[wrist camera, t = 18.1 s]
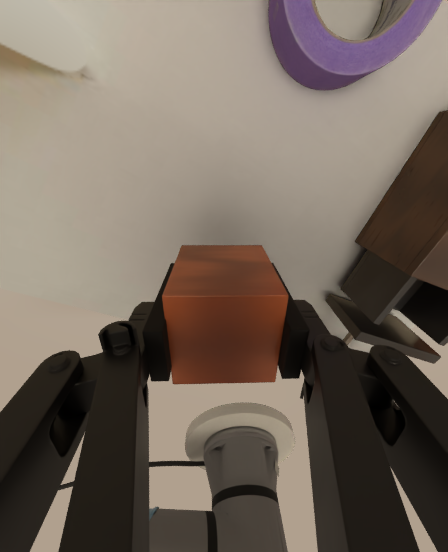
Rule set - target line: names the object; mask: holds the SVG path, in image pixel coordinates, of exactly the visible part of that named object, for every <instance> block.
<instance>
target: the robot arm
mask: <svg viewBox="0 0 448 552" xmlns="http://www.w3.org/2000/svg"><path fill="white" fill-rule="evenodd" d="M174 264H175V263H171V264H170V267H169V269H168V272H167V274H166V276H165V279H164V281H163V284H162V286H161V288H160V291H159V293H158V295H157V298H156V300H155V302H141V303H140V304H139V305H138V306H136V307H135V309H134V311H133V313H132V315H131V316H130V318H129V321H118V322H114V323H111V324H109V325H107V326H105V327H104V328H103V329H102V330H101V331H100V333H99V334H98V335H99V339H100V342H101V346H102V349H103V352H102V353H99V354H96V355H93V356H88V357H84V358H80V355H79V353H77V352H76V351H70V350H69V351H62V352H59V353H57V354H54V355H52V356H50V357H49V358H47V359H46V360H44V362H42V363H41V364H40V365H39V367H38V368H37V369H36V370H35V371H34V373H33V374H32V375H31V376H30V377H29V379H28V380H27V381H26V382H25V383H24V385H23V386H22V387H21V388H20V389H19V391H18V392H17V393H16V394H15V395H14V397H13V398H12V399H11V400H10V401H9V403H8V404H7V405H6V406H5V407H4V409H3V410H2V411H1V412H0V552H30V549H31V547H32V545H33V543H34V541H35V538H36V537H37V534H38V532H39V530H40V528H41V526H42V524H43V521H44V519H45V517H46V515H47V513H48V511H49V508H50V506H51V504H52V502H53V500H54V497H55V495H56V493H57V491H58V490H61V489H65V488H68V487H72V486H73V489H72V494H71V498H70V503H69V507H68V512H67V516H66V521H65V525H64V529H63V534H62V538H61V543H60V548H59V552H288V551H287V546H286V540H285V535H284V530H283V524H282V519H281V514H280V509H279V504H278V498H277V492H276V484H277V475H278V476H279V467H278V455H279V452H278V448H277V443H276V440H275V438H274V436H273V435H272V434H271V433H269V432H268V431H266V430H264V429H261V428H257V427H252V426H235V427H229V428H225V429H223V430H220V431H218V432H216V433H214V434H213V435H211V436H210V437H209V438H208V439H207V440H206V442H205V444H204V455H203V459H204V461H160V462H159V461H158V462H149V431H148V430H149V424H148V423H149V421H148V419H149V418H148V386H147V380H148V377H149V374H150V377H151V381H169V377H170V372H171V368H172V365H171V357H170V349H169V340H168V332H167V324H166V319H165V317H164V309H163V301H162V295H163V292H164V290H165V287H166V285H167V282H168V280H169V277H170V274H171V272H172V269H173V267H174ZM272 265H273V267H274V269H275V271H276V273H277V274H278V276H279V278H280V280H281V282H282V284H283V286H284V288H285V289H286V291H287V293H288V295H289V296H288V303H287V309H286V316H285V322H284V328H283V335H282V341H281V347H280V354H279V360H278V366H279V370H280V373H281V376H282V379H290V378H299V376H300V372H301V370H302V372H303V375H304V377H305V378H304V383H303V387H302V391H301V396H300V398H302V399H303V396H304V403H305V413H306V425H307V436H308V447H309V458H310V469H311V480H312V490H313V502H314V513H315V524H316V535H317V546H318V552H420V551H419V548H418V546H417V542H416V540H415V537H414V534H413V531H412V528H411V525H410V522H409V520H408V517H407V514H406V511H405V508H404V505H403V503H402V500H401V497H400V494H399V491H398V488H397V486H396V482H395V480H394V477H393V474H392V471H391V468H392V470H393V472H394V474H395V475H396V477H397V479H398V481H399V482H400V484H401V486H402V488H403V490H404V491H405V493H406V495H407V497H408V498H409V501H410V502H411V504H412V506H413V508H414V509H415V511H416V513H417V515H418V517H419V519H420V520H421V522H422V524H423V526H424V527H425V529H426V531H427V533H428V535H429V536H430V538H431V540H432V542H433V543H434V545H435V547H436V549H437V551H438V552H448V399H447V398H446V397H445V396H444V395H443V394H442V393H441V392H440V391H439V389H438V388H437V387H436V386H435V385H433V383H432V382H431V381H430V380H429V379H428V378H427V377H426V376H425V375H424V374H423V373H422V372H421V371H420V369H419V368H418V367H417V366H416V365H415V364H414V363H413V362H412V361H411V360H410V359H409V358H408V357H407V356H406V355H405V354H403V353H402V352H401V351H399V350H397V349H395V348H393V347H390V346H387V345H375V346H373V347H372V348H371V350H370V352H369V353H368V352H363V351H358V350H354V349H350V348H348V346H347V345H346V343H345V342H344V341H343V340H341V339H340V338H338V337H336V336H333V335H331V334H330V333H329V331H328V330H327V328H326V326H325V325H324V323H323V322H322V320H321V319H320V318H319V316H318V314H317V313H316V311H315V310H314V308H313V307H312V305H311V304H309V303H308V302H306V301H305V300H293V298H292V296H291V295H290V293H289V291H288V289H287V287H286V286H285V284H284V282H283V280H282V278H281V276H280V275H279V273H278V271H277V269H276V267H275V266H274V264H273V263H272ZM394 401H395V402H394ZM395 403H396V404H397V405H398V406H397V405H396V404H395ZM84 433H85V435H84ZM83 435H84V440H83V444H82V449H81V453H80V458H79V463H78V467H77V471H76V476H75V480H74V481H73V482H70V483H67V484H63V485H60V484H61V483H62V480H63V478H64V476H65V473H66V472H67V470H68V467H69V465H70V463H71V461H72V459H73V457H74V454H75V452H76V450H77V448H78V446H79V443H80V441H81V439H82V437H83ZM155 466H205V468H206V472H207V476H208V480H209V484H210V489H211V493H212V511H196V510H175V509H159V507H155V508H154V509H149V467H155ZM390 467H391V468H390Z"/></svg>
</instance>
